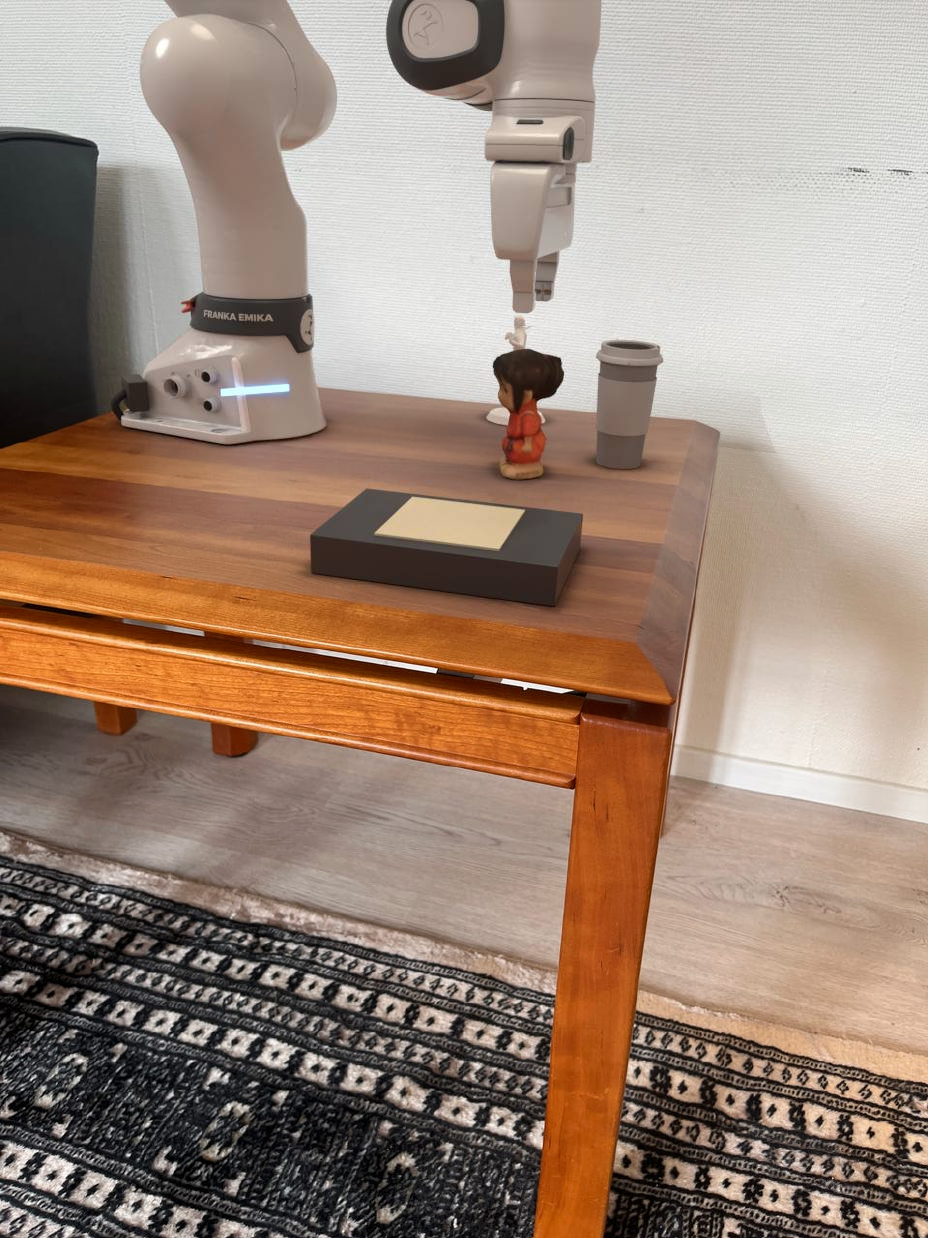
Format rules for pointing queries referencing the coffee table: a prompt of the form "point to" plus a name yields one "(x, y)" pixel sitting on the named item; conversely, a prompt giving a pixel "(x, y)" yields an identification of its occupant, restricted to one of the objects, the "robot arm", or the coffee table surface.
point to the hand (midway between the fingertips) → (533, 306)
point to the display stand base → (450, 545)
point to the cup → (625, 400)
